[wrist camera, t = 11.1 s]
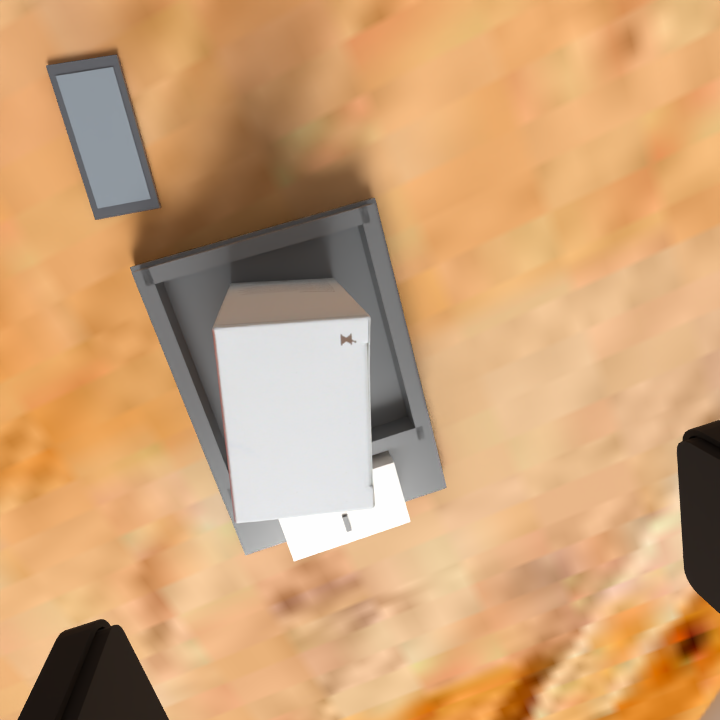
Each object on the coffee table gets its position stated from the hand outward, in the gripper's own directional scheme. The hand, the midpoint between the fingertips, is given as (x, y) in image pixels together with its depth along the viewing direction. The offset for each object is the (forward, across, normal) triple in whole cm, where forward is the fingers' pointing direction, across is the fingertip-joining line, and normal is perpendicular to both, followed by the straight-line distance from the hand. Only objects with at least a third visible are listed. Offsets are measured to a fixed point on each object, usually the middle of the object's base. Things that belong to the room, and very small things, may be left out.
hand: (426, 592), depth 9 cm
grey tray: (+22, +2, +4) cm, 23 cm away
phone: (+23, +7, -11) cm, 27 cm away
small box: (+22, +2, +2) cm, 22 cm away
